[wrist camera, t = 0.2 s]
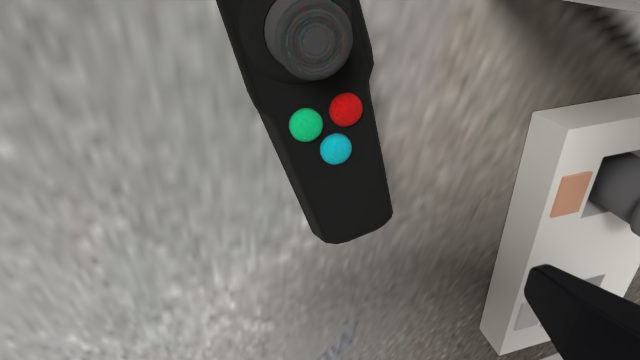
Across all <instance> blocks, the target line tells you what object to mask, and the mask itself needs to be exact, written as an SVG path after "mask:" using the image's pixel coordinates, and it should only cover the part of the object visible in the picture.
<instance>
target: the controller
mask: <svg viewBox="0 0 640 360" xmlns="http://www.w3.org/2000/svg"><path fill="white" fill-rule="evenodd" d="M216 2H217V5H218V8H219V11H220V14H221V16H222V19H223V22H224V25H225V28H226V31H227V34H228V37H229V39H230V42H231V45H232V48H233V51H234V54H235V57H236V60H237V63H238V65H239V68H240V71H241V74H242V77H243V80H244V83H245V86H246V88H247V91H248V93H249V96H250V98H251V100H252V102H253V104H254V106H255V107H256V109H257V110H258V112H259V114H260V116H261V119H262V121H263V123H264V125H265V128H266V130H267V132H268V134H269V137H270V139H271V141H272V143H273V145H274V148H275V150H276V152H277V154H278V157H279V159H280V161H281V163H282V165H283V168H284V170H285V172H286V174H287V177H288V179H289V181H290V183H291V185H292V188H293V190H294V192H295V194H296V197H297V199H298V201H299V203H300V206H301V208H302V210H303V212H304V214H305V217H306V219H307V221H308V223H309V226H310V228H311V230H312V232H313V233H314V234H315V235H316V236H317V237H319V238H320V239H321V240H322V241H324V242H325V243H332V244H339V243H344V242H348V241H351V240H353V239H355V238H358V237H360V236H363V235H365V234H368V233H370V232H373V231H375V230H377V229H379V228H380V227H382V226H383V225H385V224H386V223H387V222H388V220H389V219H390V218H391V217H392V214H393V210H392V205H391V200H390V194H389V189H388V184H387V179H386V174H385V168H384V163H383V158H382V153H381V147H380V142H379V137H378V132H377V127H376V121H375V116H374V111H373V106H372V101H371V95H370V90H369V79H370V75H371V72H372V69H373V65H374V61H373V54H372V47H371V43H370V40H369V36H368V32H367V28H366V24H365V20H364V17H363V13H362V9H361V5H360V1H359V0H216Z"/></svg>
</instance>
